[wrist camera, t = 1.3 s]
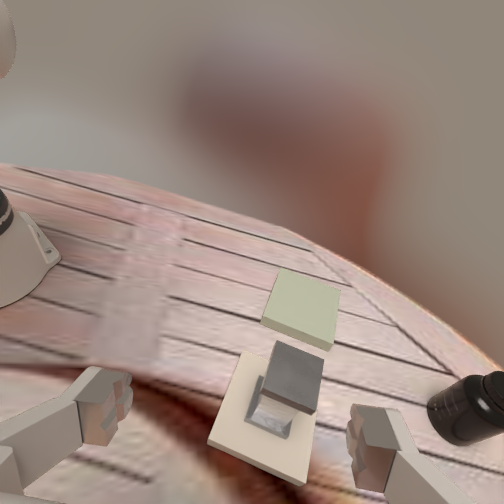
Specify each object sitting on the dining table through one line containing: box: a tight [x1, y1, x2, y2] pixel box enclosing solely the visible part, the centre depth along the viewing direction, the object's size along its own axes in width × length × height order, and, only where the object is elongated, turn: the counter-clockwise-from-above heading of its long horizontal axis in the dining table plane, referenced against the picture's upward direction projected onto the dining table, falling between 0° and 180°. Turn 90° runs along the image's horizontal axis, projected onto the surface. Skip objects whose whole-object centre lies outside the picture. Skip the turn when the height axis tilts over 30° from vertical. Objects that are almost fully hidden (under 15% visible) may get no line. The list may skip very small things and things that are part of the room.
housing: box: [244, 340, 324, 440], centre depth 33 cm, size 6×6×11 cm
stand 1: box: [260, 268, 341, 351], centre depth 51 cm, size 12×12×2 cm
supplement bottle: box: [428, 371, 504, 446], centre depth 39 cm, size 7×7×12 cm
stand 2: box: [207, 350, 321, 486], centre depth 38 cm, size 12×12×2 cm
